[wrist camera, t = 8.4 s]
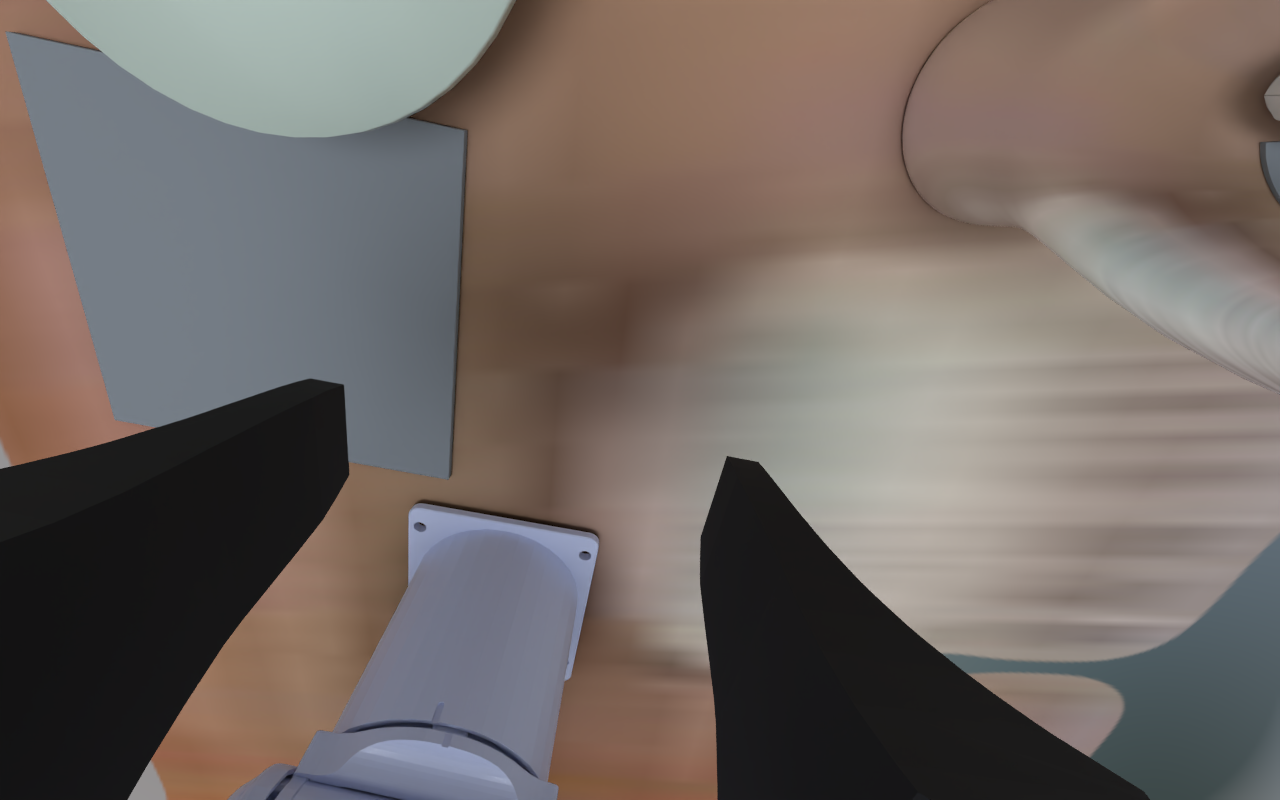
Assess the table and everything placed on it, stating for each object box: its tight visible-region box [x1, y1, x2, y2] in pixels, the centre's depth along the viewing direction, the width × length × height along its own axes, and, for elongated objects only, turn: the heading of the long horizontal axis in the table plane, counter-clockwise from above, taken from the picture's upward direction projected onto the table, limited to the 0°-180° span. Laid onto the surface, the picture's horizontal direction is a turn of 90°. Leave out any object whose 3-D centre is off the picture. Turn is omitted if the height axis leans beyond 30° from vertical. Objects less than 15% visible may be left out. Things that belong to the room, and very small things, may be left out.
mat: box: [6, 32, 467, 480], centre depth 20 cm, size 13×13×1 cm
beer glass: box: [902, 0, 1280, 395], centre depth 10 cm, size 7×7×15 cm
